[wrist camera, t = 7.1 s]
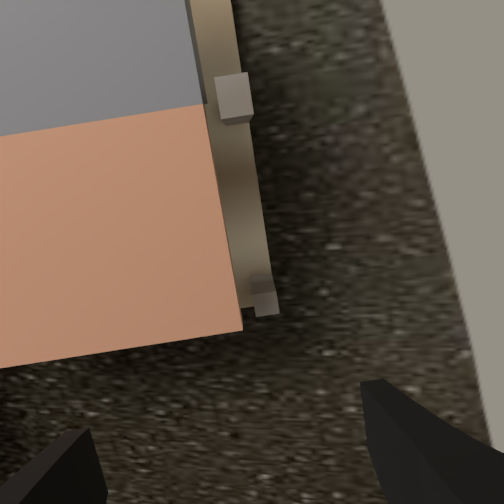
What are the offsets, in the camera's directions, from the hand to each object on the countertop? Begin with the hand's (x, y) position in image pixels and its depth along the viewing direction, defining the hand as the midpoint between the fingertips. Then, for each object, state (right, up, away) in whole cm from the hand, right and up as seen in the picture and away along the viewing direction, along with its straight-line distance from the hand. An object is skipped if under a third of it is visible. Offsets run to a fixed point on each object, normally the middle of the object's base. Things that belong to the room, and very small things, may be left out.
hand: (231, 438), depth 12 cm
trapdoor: (-7, +8, +6) cm, 12 cm away
